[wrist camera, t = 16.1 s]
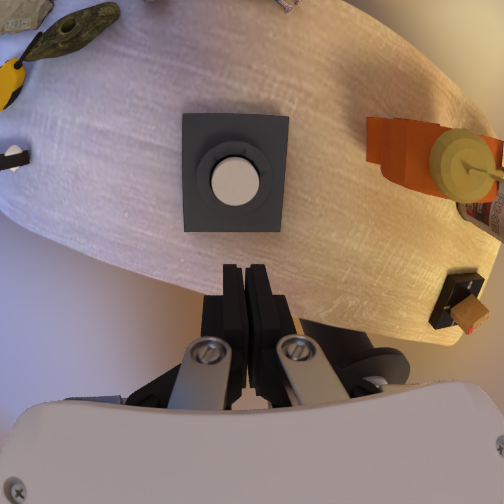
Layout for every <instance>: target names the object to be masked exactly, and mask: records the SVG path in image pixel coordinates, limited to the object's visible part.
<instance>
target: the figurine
mask: <svg viewBox="0 0 504 504" xmlns="http://www.w3.org/2000/svg"><path fill="white" fill-rule="evenodd" d="M275 1H277V2H279V3H280V4H282V5H283V6H284V8H285V12H284V13H285V14H287V13H288V12H290V11H291V9H292V8H293V7H292V6H291V5H289V4H288V3H287V2H286V1H285V0H275ZM301 1H302V0H295V5H298V4H299V3H300V2H301Z"/></svg>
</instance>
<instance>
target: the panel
mask: <svg viewBox="0 0 504 504" xmlns="http://www.w3.org/2000/svg"><path fill="white" fill-rule="evenodd" d="M484 280H485V279H484V278H483V277H482V276H481V275H479V274H478V273H464V274H450V275H447V278H446V281H445V283H444V286H443V289H442V291H441V294H440V296H439V298H438V301H437V303H436V306H435V308H434V310H433V313H432V315H431V317H430V319H429V323H430V324H431V325H432V327H433V328H434V329H435V330H436V329H441V328H446V327H450V326H454V325H458V324H457V323H456V322H455V321H454V319H453V318H452V317H451V308H453V307H454V306H456V305H457V304H458V303H460V302H461V301H463V300H464V299H465V298H467V297H468V296H470V295H471V294H473V295H474V296H475V297H476V298H477V296H478V294H479V292H480V290H481V287H482V285H483V282H484Z"/></svg>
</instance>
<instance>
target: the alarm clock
mask: <svg viewBox="0 0 504 504" xmlns="http://www.w3.org/2000/svg"><path fill="white" fill-rule="evenodd" d="M503 143H504V141H501V140H498V139H495V138H491V137H487V136H483V135H479V134H476V133H474V132H472V131H470V130H467V129H459V128H454V129H452V128H447V127H442V126H440V124H435V123H429V122H423V121H416V120H409V119H401V118H394V119H385V118H374V117H367V158H366V162H371V163H375V164H380V165H381V171H382V174H383V176H384V177H385V178H387V179H388V180H390V181H391V182H394V183H396V184H398V185H401V186H403V187H406V188H408V189H411V190H415V191H418V192H421V193H424V194H428V195H433V196H437V197H441V198H445V199H450V200H453V201H456V202H458V203H473V202H474V203H485V202H492V201H493V200H494V199H495V198H496V197H497V196H498V191H499V184H500V182H502V183H504V179H503V177H504V167H502V157H503ZM500 177H501V178H500Z"/></svg>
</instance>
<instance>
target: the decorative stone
mask: <svg viewBox="0 0 504 504" xmlns="http://www.w3.org/2000/svg"><path fill="white" fill-rule="evenodd" d="M119 16H120V10H119V7H118V5H117V4H116V3H115V2H106V3H102V4H99V5H95V6H92V7H89V8H86V9H82V10H79V11H76V12H74V13H71V14H69V15H67V16H65V17H63V18H61V19H59V20H58V21H57V22H56V23H54V24H53V25H52V26H51V27H50V28H49V29H48V30H46V31H45V32H44V33H43V34H42V36H41V37H40V38H39V40H38V41H37V42H36V44H35V45H34V46H33V48H32V49H31V51H30V52H29V53H28V55H27V56H26V58H25V59H24V61H27V62H32V61H36V60H40V59H44V58H55V57H59V56H63V55H66V54H69V53H72V52H75V51H78V50H80V49H81V48H83V47H84V46H86V45H87V44H88V43H89V42H91V41H92V40H93V39H94V38H95V37H96V36H98V35H99V34H100V33H101V32H102V31H104V30H105V29H106V28H107V27H109V26H110V25H111V24H112V23H113V22H114V21H116V20H117V19H118V17H119Z"/></svg>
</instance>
